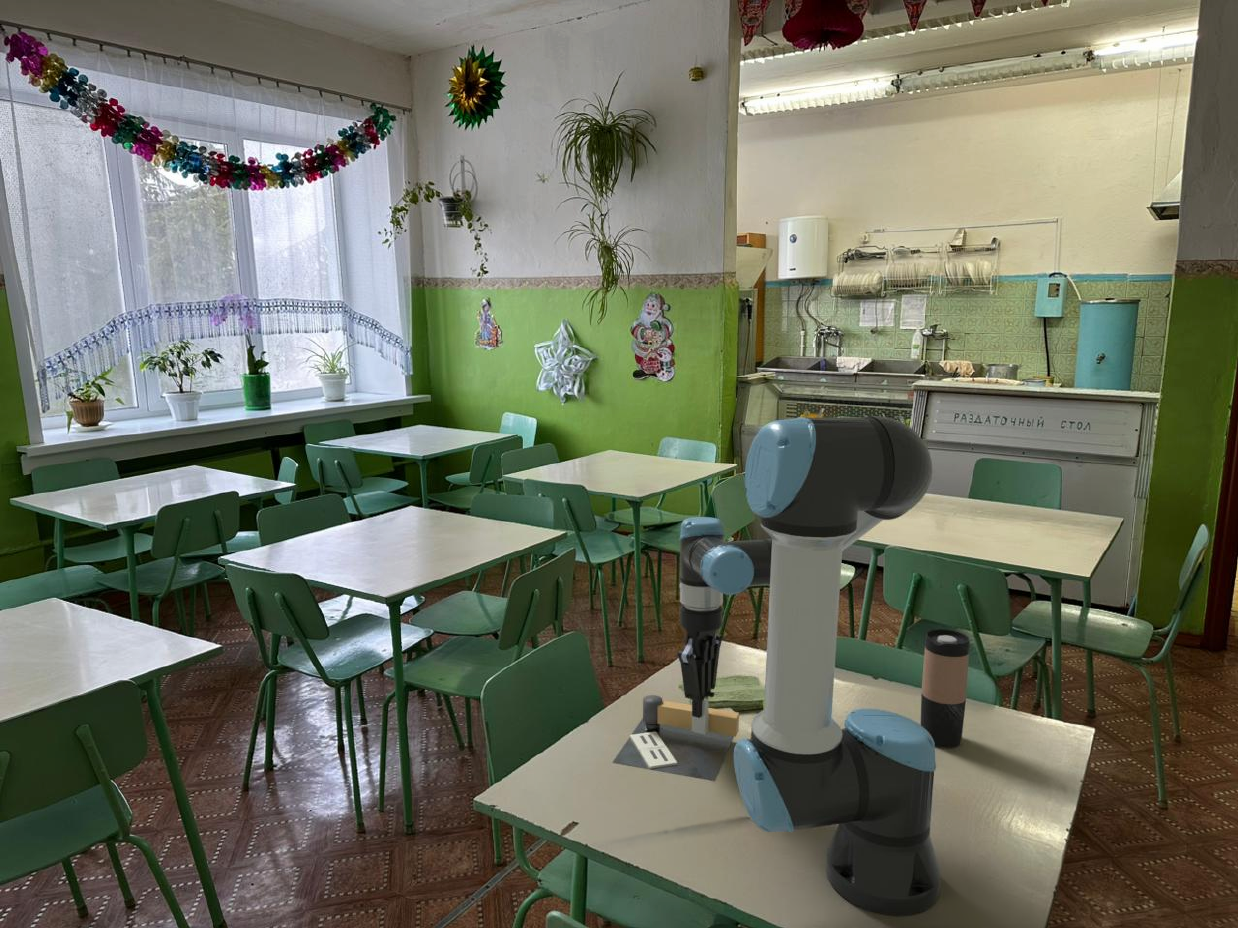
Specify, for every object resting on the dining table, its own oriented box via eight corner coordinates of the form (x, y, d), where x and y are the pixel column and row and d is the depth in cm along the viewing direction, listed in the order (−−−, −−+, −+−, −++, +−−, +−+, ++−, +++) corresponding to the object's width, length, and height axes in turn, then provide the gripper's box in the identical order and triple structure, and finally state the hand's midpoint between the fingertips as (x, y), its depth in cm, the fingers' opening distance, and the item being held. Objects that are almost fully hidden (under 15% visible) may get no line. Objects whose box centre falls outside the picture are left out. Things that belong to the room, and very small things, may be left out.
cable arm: (640, 722, 155) (640, 701, 154) (646, 713, 158) (646, 693, 158) (735, 738, 149) (735, 717, 148) (739, 729, 152) (739, 708, 152)
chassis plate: (714, 787, 139) (714, 772, 138) (612, 768, 144) (612, 754, 144) (735, 738, 155) (735, 724, 155) (642, 723, 161) (643, 710, 160)
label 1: (629, 736, 153) (629, 734, 153) (655, 733, 154) (655, 730, 154) (639, 752, 147) (639, 750, 147) (666, 748, 149) (666, 746, 149)
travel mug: (955, 729, 158) (963, 629, 155) (968, 750, 151) (976, 645, 148) (914, 727, 159) (920, 627, 156) (924, 748, 152) (931, 643, 148)
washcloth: (778, 711, 167) (779, 696, 167) (693, 718, 164) (693, 703, 163) (755, 683, 180) (756, 669, 179) (676, 690, 176) (676, 676, 176)
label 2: (639, 751, 148) (639, 748, 148) (665, 747, 149) (665, 745, 149) (649, 768, 142) (649, 766, 142) (677, 764, 144) (677, 761, 144)
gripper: (699, 593, 155) (698, 714, 158) (664, 610, 144) (664, 739, 147) (736, 599, 151) (734, 723, 154) (703, 617, 140) (701, 750, 143)
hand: (699, 731), depth 151 cm, fingers closed
